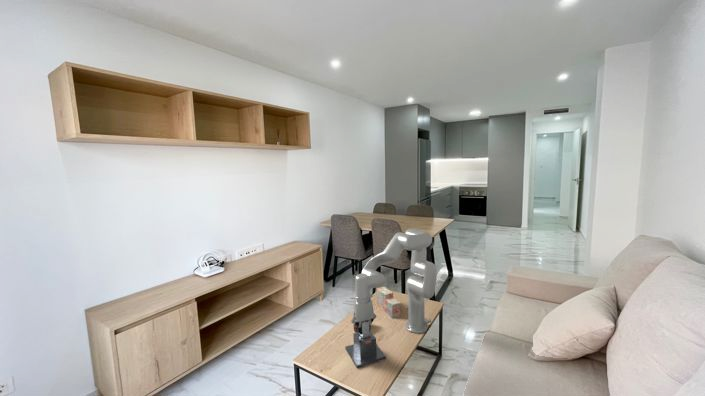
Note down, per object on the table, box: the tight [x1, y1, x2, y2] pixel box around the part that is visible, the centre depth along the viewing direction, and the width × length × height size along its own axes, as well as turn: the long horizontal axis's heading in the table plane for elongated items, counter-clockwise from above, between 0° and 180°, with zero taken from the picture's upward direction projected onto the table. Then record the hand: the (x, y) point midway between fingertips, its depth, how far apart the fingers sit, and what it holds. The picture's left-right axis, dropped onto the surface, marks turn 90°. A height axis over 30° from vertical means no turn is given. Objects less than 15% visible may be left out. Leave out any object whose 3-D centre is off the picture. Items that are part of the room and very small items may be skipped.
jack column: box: [359, 320, 371, 340], centre depth 148 cm, size 4×4×16 cm
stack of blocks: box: [376, 286, 401, 319], centre depth 193 cm, size 21×6×12 cm, turn 22°
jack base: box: [345, 331, 387, 369], centre depth 149 cm, size 16×16×10 cm
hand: (364, 331), depth 148 cm, fingers closed on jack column, 4 cm apart
